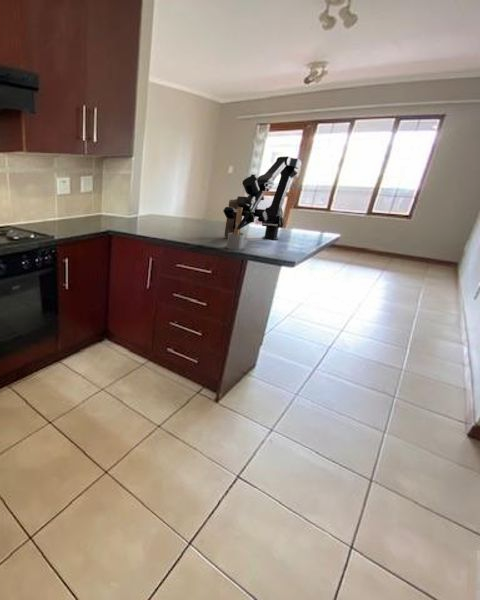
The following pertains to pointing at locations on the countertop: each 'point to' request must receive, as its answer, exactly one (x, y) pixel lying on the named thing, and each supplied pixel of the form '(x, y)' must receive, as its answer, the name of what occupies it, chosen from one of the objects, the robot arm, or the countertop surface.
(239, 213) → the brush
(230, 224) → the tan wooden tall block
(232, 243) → the grey cube
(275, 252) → the countertop surface
